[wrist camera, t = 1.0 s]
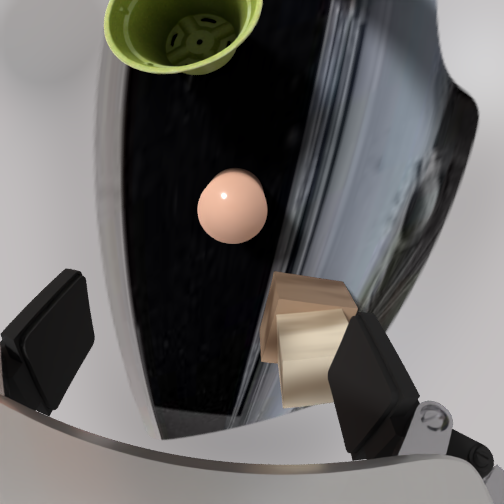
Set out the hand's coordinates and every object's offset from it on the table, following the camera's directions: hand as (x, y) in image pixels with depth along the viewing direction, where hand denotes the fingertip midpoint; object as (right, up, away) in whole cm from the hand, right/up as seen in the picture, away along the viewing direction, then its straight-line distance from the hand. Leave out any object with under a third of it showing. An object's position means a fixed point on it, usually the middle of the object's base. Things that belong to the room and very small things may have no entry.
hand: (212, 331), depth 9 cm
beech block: (+6, -5, +15) cm, 17 cm away
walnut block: (+6, -3, +20) cm, 21 cm away
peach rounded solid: (0, +7, +15) cm, 17 cm away
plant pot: (-3, +20, +10) cm, 23 cm away
